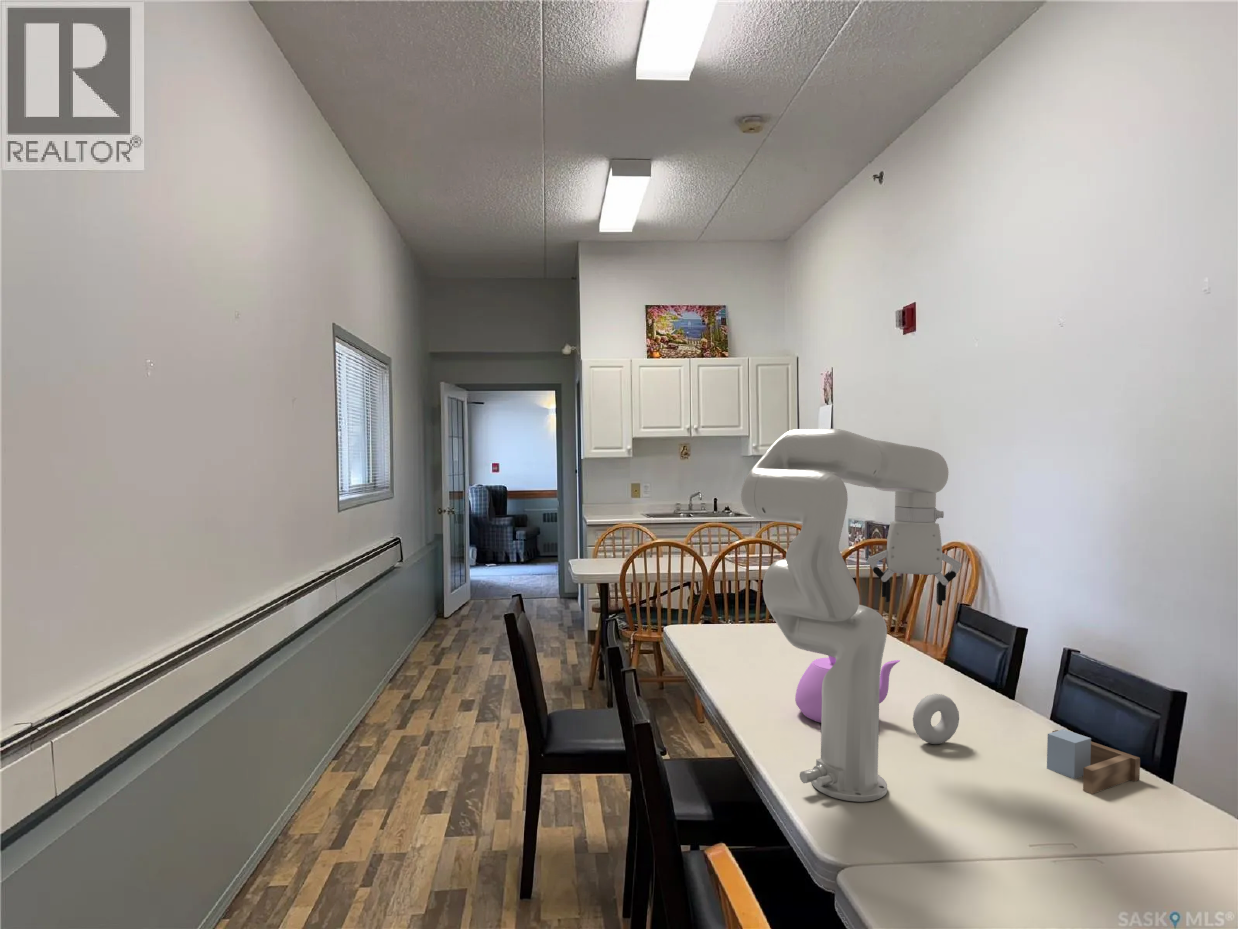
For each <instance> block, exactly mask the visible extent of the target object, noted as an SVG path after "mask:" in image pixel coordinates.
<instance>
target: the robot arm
mask: <svg viewBox="0 0 1238 929" xmlns="http://www.w3.org/2000/svg"><path fill="white" fill-rule="evenodd" d="M948 480H949V466H948V463H947V460H946V459H945V458H944V457H943V455H941V454H940V453H939V452H938V451H937V452H936V451H935V450H932V449H929V448H925V447H919V446H913V445H907V444H900V443H895V442H891V441H883V440H878V439H873V438H870V437H866V436H864V435H860V434H857V433H854V432H852V431H848V430H844V429H837V428H796V429H795V428H794V429H790V430H788V431H786V432H784V433H783V434H782V435H780V436H779V437H778V438H777V439H776V440H775V441H774V442H773V443H771V445H770V446H769V447H768V449H767V450H766V451H765V452H764V453H763V455H762V456H761V457H760V458H759V460H758V461H757V462H756V463H755V464H754V465H753V467H752V468H751V469H750V470H749V472H748V474H747V475H746V477H745V478H744V481H743V484H742V488H741V494H740V497H741V498H740V499H741V503H742V506H743V509H744V510H745V512H746V513H747V514H748V515H749V516H751V517H753V518H754V519H756V520H760V521H768V522H779V523H791V524H801V525H802V526H801V529H800V531H799V533H798V534H797V535H796V536H795V537H794V539H793V540H792V541H791V543H790V544H789V546H788V548H787V550H786V554H785V558H782V559H778V560H776V561H774V562H772V563H771V565H769V567H767V570H766V571H765V573H764V576H763V579H762V580H763V581H762V596H763V600H764V603H765V605H766V608H767V610H768V612H769V613H770V615H771V616H772V618H773V620H774V621H775V623H776V624H777V626H778V628H779V629H780V631H781V632H782V634H783V635H784V638H785V639H786V640H787V641H788V643H790V644H791V645H792V646H793V647H795V648H797V649H799V650H803V651H806V652H812V653H815V654H821V655H825V656H827V657H829V656H831V657H834V658H836V663H835V664H834V665H833V667H832V668H831V669H830V670H829V671H828V672H827V673H826V675H825V677H824V679H823V683H822V719H821V724H820V726H821V729H820V735H821V736H820V758H817V759H816V761H815V765H814V766H813V767H812V769H806V770H802V771H800V772H799V780H800V781H801V782H802V784H808V783H811V784H812V786H813V787H814V788H815V789H816V790H817V791H819V792H820V793H822V794H824V795H826V796H828V797H831V798H834V799H837V800H838V799H839V800H842V801H849V802H854V803H855V802H856V803H857V802H861V803H864V802H873V801H877V800H880V799H881V798H883V797H885V795H887V792H888V784H887V781H886V780H885V779H884V777H882V776H881V775H880V774H878V773H879V770H878V769H879V736H880V735H879V732H880V730H879V727H880V726H879V723H880V704H879V689H880V674H881V669H882V662H883V656H884V653H885V652H884V651H885V647H886V641H887V635H888V630H887V628H888V627H887V623H886V620H885V619H884V617H883V616H882V615H881V613H880V612H878V611H877V610H875V609H873V608H871V607H869V606H866V605H863V604H860V593H859V590H858V589H859V588H858V587H857V584H856V582H855V579H853V576H852V573H851V572H850V571H849V568H848V566H847V564H846V562H845V560H844V558H843V555H842V554H841V550H840V541H841V536H842V532H843V528H844V523H845V518H846V514H847V508H848V491H847V490H848V489H847V488H846V484H850V485H855V486H858V487H863V488H872V489H873V488H874V489H876V490H879V491H883V492H894V521H890V524H889V528H888V533H887V539H886V540H887V543H886V549H885V550H883V551H881V552H878V553H876V554H874V555H871V556H870V557H868V558H867V561H868V564H869V566H870V568H871V569H872V571H873V573H874V574H875V575H876V576H877V577H878V578H879V579H880V580H881V597H882V598H884V599H885V602H886V603H890V602H891V582H890V578H892V576H893V575H894V574H895V573H896V574H908V575H927V576H934V577H936V579H937V580H938V581H937V583H936V604H937V605H938V606H943V602H946V599H947V598H946V597H947V585H948V584H949V583H950V582H951V581H952V580H953V579H955V578H956V577H957V574H958V573H959V571H960V570H961V568H962V566H963V564H962V562H960V561H958V560H957V559H956V558H953V557H952V556H950V555H948V554H946V553H945V552H943V545H942V536H941V529H940V524H939V523H936V522H937V520H938V519H943V518H944V517H945V516H944V515H945V512H944V510H943V511H942V510H938V509H937V508H936V507H937V506H936V505H937V504H936V502H937V493H938V492H941V491H942V490H943V488H944V487H945V486H946V484H947V483H948ZM845 483H846V484H845ZM883 559H885V560H886V561H885V562H886V563H885V564H886V567H887V568H886V569H885V570H884V571H883V570H882V569H881V568H880V567H879V566H878V564H877V563H878V562H879V561H882V560H883ZM943 562H946V564H949V565H951V568H950V570H949V571H947V572H946V574H943V573H942V570H943Z"/></svg>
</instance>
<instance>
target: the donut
mask: <svg viewBox="0 0 1238 929" xmlns="http://www.w3.org/2000/svg"><path fill="white" fill-rule="evenodd" d="M958 709H959V708H958V706H957V705H956V703H955V702H954V701H953V699H951V698H950V697H949V696H947V695H945V694H943V693H933V694H928V695H925V697H923V698H922V699H920V700H919V702H918V703H917V704H916V706H915V708H914V711H913V715H912V724H913V729H914V731H915V733H916V735H917V736H918V737H919V738H920V739H921V740H922V741H923V742H926V743H927V744H932V745H939V744H942V743H945V742H946V743H947V742H948V741H949V740H950V739H951V738H952V737H953V735H955V733H956V732H957V729H958V727H959V722H960V713H959V710H958ZM937 712H939V713H940V720H939V722H938V723H937V724H935V725H934V726H933V725H932V719H933V716H934V715H935V714H936V713H937Z"/></svg>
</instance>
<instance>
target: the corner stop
mask: <svg viewBox="0 0 1238 929" xmlns="http://www.w3.org/2000/svg"><path fill="white" fill-rule="evenodd" d="M1056 731H1059V730H1058V729H1055V730H1052V732H1056ZM1052 732H1051V733H1052ZM1140 771H1141V757H1139V756H1136V755H1132V754H1131V753H1127V752H1124V751H1121V750H1118V749H1115V748H1112V747H1108V746H1105V745H1103V744H1100V743H1097V742H1094V741H1091V760H1090V766H1087V767H1084V770H1083V776H1082V791H1083V792H1086V793H1088V794H1089V795H1090V794H1091V795H1093V794H1097V793H1099V792H1102V791H1104V790H1107V789H1110V788H1113V787H1115V786H1117V785H1121V784H1123V783H1127V782H1129V781H1132V782H1137V781H1140V777H1141V776H1140V773H1141V772H1140Z"/></svg>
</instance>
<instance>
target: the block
mask: <svg viewBox="0 0 1238 929" xmlns="http://www.w3.org/2000/svg"><path fill="white" fill-rule="evenodd" d="M1091 742H1092V738H1091V737H1088V736H1085V735H1082V734H1079V733H1077V732H1073V731H1070V730H1067V729H1065V728H1064V729H1060V730H1059V731H1056V732H1049V733H1047V746H1046V747H1047V748H1046V749H1047V750H1046V769H1047V770H1049V771H1052V772H1055V773H1057V774H1060V775H1062V776H1066V777H1068V778H1070V779H1073V780H1076V779H1078V778H1081V777H1083V770H1084V767H1087V766H1090V760H1091Z"/></svg>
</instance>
